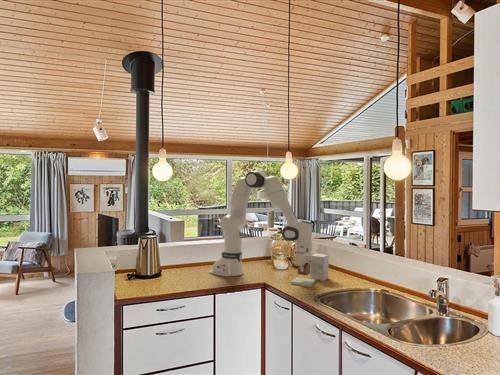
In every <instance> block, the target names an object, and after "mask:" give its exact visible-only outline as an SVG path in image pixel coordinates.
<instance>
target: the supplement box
mask: <svg viewBox="0 0 500 375" xmlns="http://www.w3.org/2000/svg"><path fill="white" fill-rule="evenodd" d="M329 262H330V261H329V254H324V253H315V254H314V253H313V254H311V260H310V274H309V275H310V278H309V279H316V281H321V282H324V281H326V280H327V279H329Z"/></svg>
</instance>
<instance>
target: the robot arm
mask: <svg viewBox="0 0 500 375" xmlns="http://www.w3.org/2000/svg"><path fill="white" fill-rule="evenodd" d="M262 188H263V189H264V191H265V193H266V195H267V198H268V201H269V203H270V205H271V206H272V207H274V208H276V209H278V210H279V211H280V212H282V214H283V216H284V218H285V220H286V221H285V222H287V225H286V226H283V227H282V229H281V237H282V239H284V241H287V242H293V241H296V247H295V249H294V250H295V263H296V266H297V267H298V266H300V271H301V272H303V271H304V264H306V263H309V262H311V255H312V250H313V246H312V245H313V241H312V237H313V227H312V226H313V225H312V223H311V222H310V221H308V220H305V219H300V220H298V219H297V217H296V215H295V212H294V210H293V207H292V205H291V204H290V201H289V199H288V196H287V194H286V191H285V188H284V186H283V184H282V182H281V180H280V178H279V177H278V176H276V175H269V174H268V172H266V171H264V170H250V171H249V172H247V173H246V175H245V176H241V177H239V178H238V180H237V181H236V183H235V186H234V188H233V191H232V195H231V199H230V202H229V204H230V213H229V214H226V215H223V217H221V218H220V220H219V227H220V229H221V230H222V233H223V238H224V250H223V251H222V252H221V254H220V256H221V257H220V258H218V259H217V260H216V261H214V263H213V265H212V269H210V270H209V271H208V273H209V274H213V275H216V276H223V277H234V276H235V277H237V276H241V275H244V269H243V263H242V261H243V252H242V242H243V241H242V238H241V236H240V231H239V230H242V229H243V228H244V227H245V226H246V225H247V217H246V216H247V208H248V204H249V200H250V196H251V194H252V191H253V190H254V189H262Z"/></svg>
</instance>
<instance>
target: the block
mask: <svg viewBox="0 0 500 375" xmlns="http://www.w3.org/2000/svg"><path fill="white" fill-rule="evenodd" d="M310 273H311V262H310V263H309V262H308V263H306V264H304V271H303V272H301V271H300V266H298V265H297V275H301V276H309V275H310Z"/></svg>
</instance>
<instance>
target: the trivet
mask: <svg viewBox="0 0 500 375" xmlns="http://www.w3.org/2000/svg"><path fill="white" fill-rule="evenodd" d="M316 281H317V280H316V279H310V278H306V277H300V276H299V277H297V276H296V277H295V278H293V280H291V281H290V285H295V286H300V287H301V286H302V287H309V288H310V287H311V288H312V286H313V285H314V284H316Z"/></svg>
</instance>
